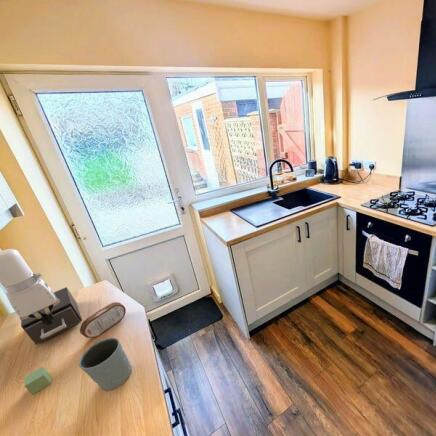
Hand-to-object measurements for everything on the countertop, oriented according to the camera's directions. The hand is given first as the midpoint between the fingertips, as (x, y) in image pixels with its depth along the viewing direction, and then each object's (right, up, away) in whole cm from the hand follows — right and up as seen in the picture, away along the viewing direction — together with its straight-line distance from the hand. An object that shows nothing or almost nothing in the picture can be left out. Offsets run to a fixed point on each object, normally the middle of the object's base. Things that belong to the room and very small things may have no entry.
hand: (50, 322), depth 91 cm
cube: (+10, -14, -13) cm, 22 cm away
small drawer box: (-8, -5, +12) cm, 15 cm away
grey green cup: (+34, -12, -14) cm, 39 cm away
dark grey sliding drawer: (-4, -5, +8) cm, 10 cm away
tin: (+17, -5, +6) cm, 19 cm away
